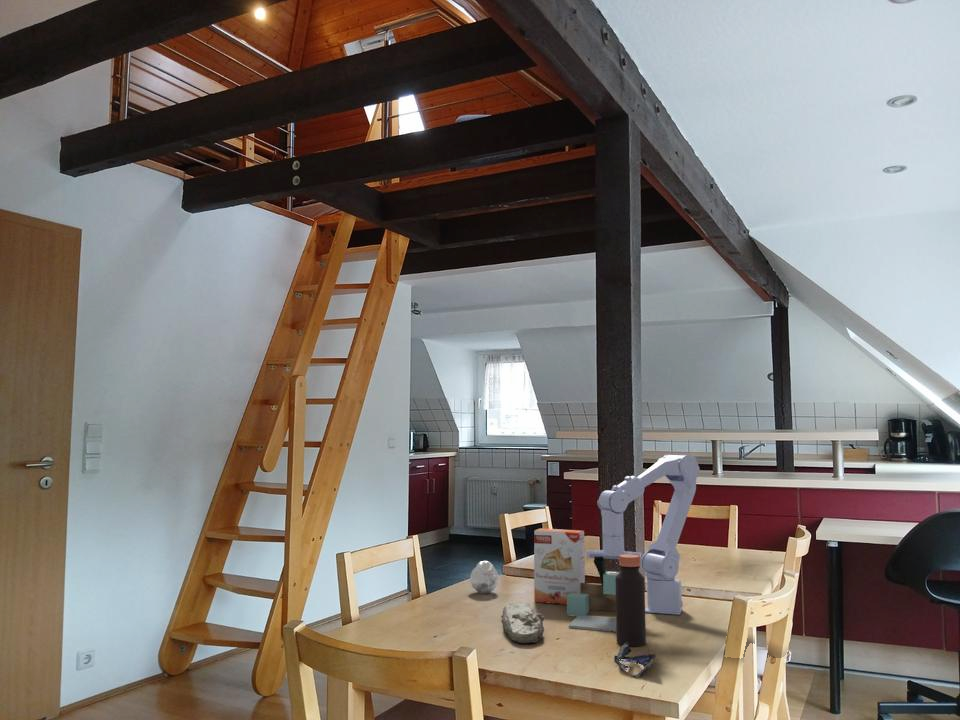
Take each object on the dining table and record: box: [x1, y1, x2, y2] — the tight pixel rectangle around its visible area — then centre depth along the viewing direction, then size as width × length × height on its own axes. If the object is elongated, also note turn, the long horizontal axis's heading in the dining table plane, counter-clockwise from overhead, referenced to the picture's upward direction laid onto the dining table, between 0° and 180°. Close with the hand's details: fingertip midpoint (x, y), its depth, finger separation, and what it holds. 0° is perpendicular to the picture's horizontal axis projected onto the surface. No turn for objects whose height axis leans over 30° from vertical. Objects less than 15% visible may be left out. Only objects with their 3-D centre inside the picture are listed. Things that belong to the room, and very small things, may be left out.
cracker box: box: [533, 528, 586, 606], centre depth 218 cm, size 14×6×21 cm, turn 68°
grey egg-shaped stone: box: [469, 560, 500, 594], centre depth 231 cm, size 9×10×10 cm
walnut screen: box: [580, 582, 616, 613], centre depth 208 cm, size 13×4×7 cm, turn 70°
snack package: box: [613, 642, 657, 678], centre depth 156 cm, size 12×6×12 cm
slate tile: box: [568, 615, 616, 633], centre depth 192 cm, size 12×12×1 cm
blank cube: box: [566, 593, 590, 617], centre depth 204 cm, size 5×5×5 cm
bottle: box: [615, 554, 647, 648], centre depth 175 cm, size 7×7×20 cm
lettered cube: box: [603, 571, 620, 595], centre depth 201 cm, size 5×5×5 cm
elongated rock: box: [501, 601, 545, 644], centre depth 189 cm, size 35×5×10 cm
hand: (614, 586), depth 201 cm, fingers closed on lettered cube, 5 cm apart
